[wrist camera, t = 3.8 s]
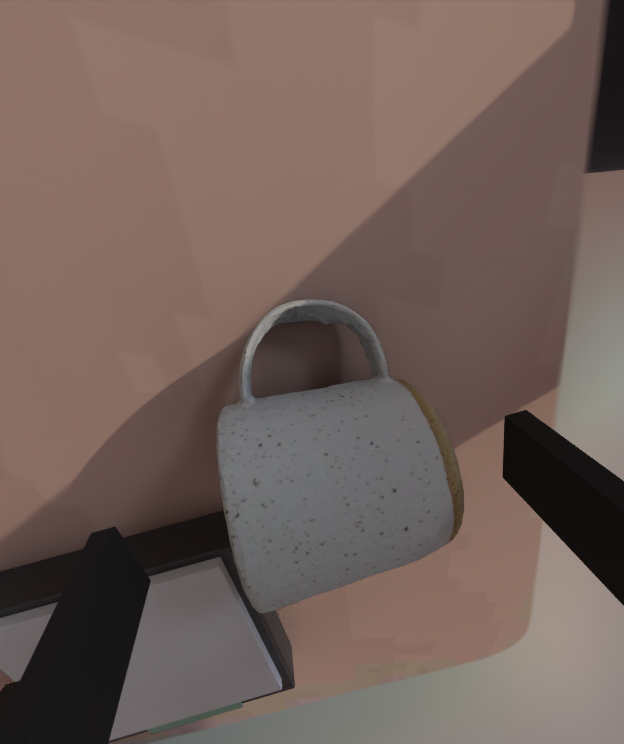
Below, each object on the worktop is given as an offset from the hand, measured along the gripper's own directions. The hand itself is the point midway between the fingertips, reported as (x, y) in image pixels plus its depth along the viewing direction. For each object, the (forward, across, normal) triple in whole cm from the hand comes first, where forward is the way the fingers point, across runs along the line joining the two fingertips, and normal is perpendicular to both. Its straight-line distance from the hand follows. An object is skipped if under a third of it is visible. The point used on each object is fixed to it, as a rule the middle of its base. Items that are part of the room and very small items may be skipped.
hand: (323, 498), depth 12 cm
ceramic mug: (+6, 0, 0) cm, 6 cm away
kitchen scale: (+6, -12, -12) cm, 18 cm away
